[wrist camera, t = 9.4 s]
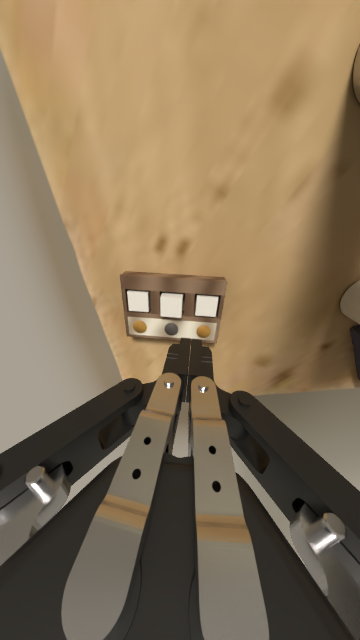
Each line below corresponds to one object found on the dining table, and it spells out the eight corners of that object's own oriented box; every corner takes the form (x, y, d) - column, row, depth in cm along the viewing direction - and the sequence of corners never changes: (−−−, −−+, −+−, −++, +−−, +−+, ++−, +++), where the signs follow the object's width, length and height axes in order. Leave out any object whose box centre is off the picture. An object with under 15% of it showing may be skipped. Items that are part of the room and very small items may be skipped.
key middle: (183, 293, 31) (182, 298, 29) (182, 311, 33) (181, 317, 31) (162, 291, 31) (160, 296, 29) (162, 310, 33) (160, 316, 31)
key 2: (216, 292, 32) (218, 297, 30) (214, 310, 34) (215, 316, 31) (196, 291, 32) (197, 296, 30) (195, 309, 34) (195, 315, 32)
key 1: (151, 288, 32) (147, 293, 30) (151, 306, 34) (148, 312, 32) (131, 287, 33) (127, 291, 30) (133, 305, 34) (128, 310, 32)
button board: (224, 277, 31) (227, 282, 28) (215, 334, 37) (216, 344, 34) (126, 271, 32) (119, 275, 29) (131, 328, 38) (126, 337, 35)
